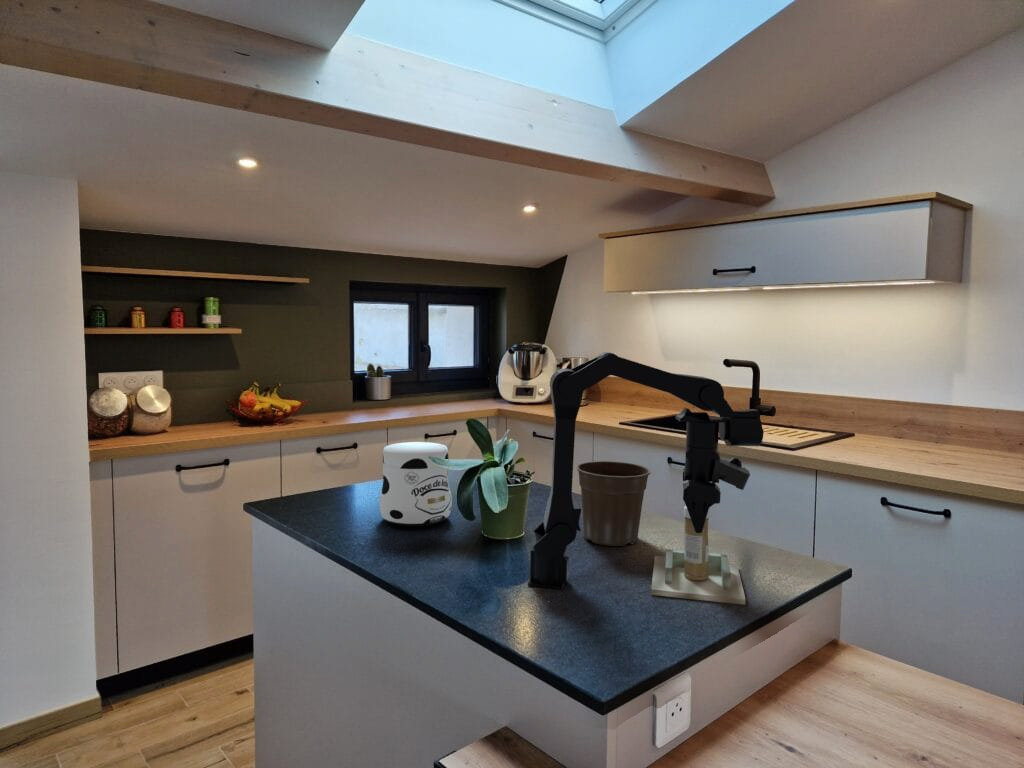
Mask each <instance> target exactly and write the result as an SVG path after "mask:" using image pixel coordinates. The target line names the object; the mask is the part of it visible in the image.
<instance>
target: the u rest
mask: <svg viewBox="0 0 1024 768" xmlns="http://www.w3.org/2000/svg"><path fill="white" fill-rule="evenodd" d="M739 570H740V569H739V566H738V563H736V562H735V563H734V562H729V559H728V554H722V553H721V554H720V553H710V552H708V574H709V577H708V578H707V579H705V580H700V581H699V580H691V579H688V578H686V577H685V576H684V572H685V559H684V550H676V549H668V548H667V549H666V553H665V556H661V555H654V562H653V571H652V579H651V589H650V595H652V596H660V597H661V596H662V597H669V598H670V597H671V598H676V599H677V598H678V599H679V598H680V599H689V600H697V601H698V600H699V601H705V602H706V601H707V602H718V603H724V604H725V603H727V604H734V605H743V606H744V605H746V596H745V591H744V587H743V584H742V583H743V582H742V579H741V574H740V571H739Z"/></svg>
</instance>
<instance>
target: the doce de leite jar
mask: <svg viewBox="0 0 1024 768" xmlns="http://www.w3.org/2000/svg"><path fill="white" fill-rule="evenodd" d="M430 455H431V456H435V457H439V458H443V459H448V460H449V449H448V446H447V445H445V444H442V443H437V442H431V441H430V442H428V441H427V442H426V441H408V442H407V441H406V442H399V443H398V442H397V443H392V444H388V445H386V446H384V447H383V453H382V487H381V491H380V495H379V498H378V499H379V500H378V501H379V502H378V505H379V506H378V507H379V513H380V515H381V518H382V519H383V520H384V521H385V522H387V523H389V524H392V525H396V526H400V527H411V528H413V527H424V526H432V525H436V524H438V523H439V524H440V523H442V522H443V521H445V520H447V518H449V516H450V514H451V512H452V507H453V506H452V505H453V497H452V493H451V488H450V485H449V468H448V469H447V468H443V467H440V466H437V465H435V464H434V463H433V462H432V461H431V460H430V459H429V458H428V456H430Z"/></svg>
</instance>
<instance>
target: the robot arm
mask: <svg viewBox="0 0 1024 768" xmlns="http://www.w3.org/2000/svg"><path fill="white" fill-rule="evenodd" d="M610 376H612V377H613V376H614V377H617V378H620V379H624V380H626V381H630V382H632V383H633V382H634V383H636V384H640V385H643V386H645V387H649V388H652V389H655V390H658V391H662V392H665V393H668V394H670V395H672V396H674V397H675V398H677V399H680V400H681V401H684V402H685V403H687V404H689V405H691V406H692V407H695V408H697V409H699V410H702V411H691V410H690V408H688V407H683V409H682V411H680V412H679V413H678V414H676V416H675V419H676V420H677V421H679V422H682V423H686V434H685V436H686V437H685V451H684V452H685V453H684V455H685V460H684V467H683V468H682V482H686V481H687V482H686V483H682V488H683V489H682V501H683V502H684V505H685V506H686V507H687V510H688V512H689V515H690V518H691V521H692V524H693V526H694V529H695V532H696V533H702V531H703V527H704V524H705V520H706V516H707V513H708V510H709V511H710V508H711V507H712V506H714V505H716V504H717V505H718V504H720V503H721V494H722V493H721V490H720V487H719V486H718V485H717V484H719V483H720V481H722V482H723V483H727V484H729V485H732V486H734V487H735V488H736V489H738V490H741V491H744V489H745V486H746V485H747V483H748V481H749V478H750V477H751V473H750V471H749V469H747V468H746V467H743V465H742V460H741V458H738V457H735V456H732V457H731V458H730V459H728V460H727V459H722V458H721V455H720V452H719V440H721V441H723V442H724V444H725V446H727V447H760V446H761V444H762V442H763V440H764V431H765V430H764V429H763V423H762V421H761V418H760V411H759V410H758V409H755V408H754V409H753V408H751V409H748V408H747V409H732V407H731V405H730V404H729V403H728V401H727V400H726V399H725V391H724V388H723V386H722V384H721V383H720V382H719V381H717V380H715V379H712V378H709V377H705V376H698V375H690V374H682V373H673V372H669V371H666V370H662V369H659V368H655V367H652V366H649V365H646V364H643V363H640V362H637V361H634V360H631V359H628V358H625V357H621V356H618V355H617V354H615V353H612V352H609V351H608V352H607V351H605V352H602V353H600V354H599V355H598V356H596V357H594V358H592V359H589V360H587V361H585V362H582V363H580V364H578V365H577V366H576V365H575V366H574V367H573V368H571V369H570V368H560V369H557V370H556V371H555V372H553V373H552V375H551V377H550V379H549V390H550V398H551V399H550V400H551V403H552V411H553V417H554V422H553V443H552V444H553V445H552V461H551V462H552V463H551V464H552V465H551V468H552V469H551V482H550V483H551V487H550V488H551V489H550V493H549V496H548V499H547V503H546V507H545V511H544V516H543V521H542V522H541V523H540V524H539V525H538V526H537V527H535V529H533V530H532V532H531V535H532V541H533V543H532V544H533V545H532V547H531V548H530V550H529V551H530V555H529V559H530V560H529V561H530V563H529V579H528V581H527V585H528V586H532V587H533V586H534V587H540V588H548V589H549V588H550V589H557V590H561V589H563V588H564V586H565V583H567V582H568V581H569V577H570V576H569V575H570V574H569V573H570V557H569V555H567V547H568V546H569V545H570V544H572V543H573V542H574V541H575V540H576V538H577V533H578V532H581V530H582V529H581V527H580V518H581V514H582V508H581V506H580V504H579V500H573V477H574V476H573V474H574V458H575V457H574V454H575V439H576V438H575V437H576V421H577V417H578V415H579V412H580V408H581V404H582V400H583V396H584V391H586V390H588V389H590V388H592V387H593V386H595V385H597V384H598V383H599V382H601V381H603V380H605V379H606V378H608V377H610ZM705 411H706V412H705ZM708 412H711V413H713V414H716V415H718V417H717V416H713V417H712V416H710V415H709V414H708ZM719 416H721V417H719Z"/></svg>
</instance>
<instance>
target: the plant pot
mask: <svg viewBox="0 0 1024 768" xmlns="http://www.w3.org/2000/svg"><path fill="white" fill-rule="evenodd" d="M576 470H577V471H578V480H579V481H578V483H579V486H580V493H581V494H580V495H581V507H582V508H581V514H582V531H583V532H582V533H583V538H584V539H585V540H586V541H591V542H592V543H593V544H596V545H599V546H601V545H602V546H605V547H624V546H627V544H629V545H633V544H636V542H637V541H638V538H639V537H638V536H639V531H640V530H639V529H640V523H641V515H642V508H643V503H644V502H643V501H644V495H645V490H646V489H647V485H648V479H649V476H650V474H651V469H649V468H648V467H646V466H643V465H640V464H637V463H632V462H623V461H610V460H607V461H606V460H597V461H588V462H582V463H579V464H577V466H576Z"/></svg>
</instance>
